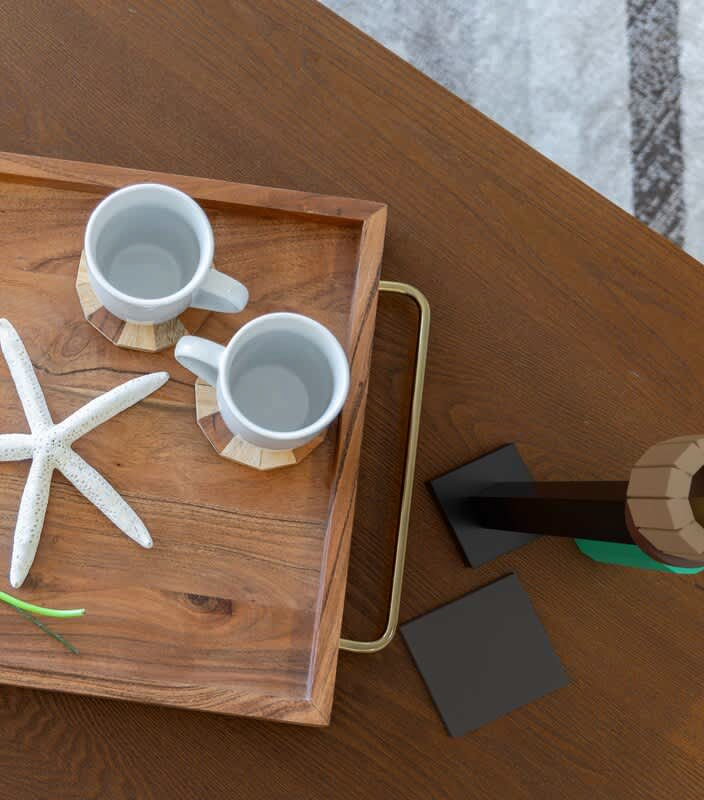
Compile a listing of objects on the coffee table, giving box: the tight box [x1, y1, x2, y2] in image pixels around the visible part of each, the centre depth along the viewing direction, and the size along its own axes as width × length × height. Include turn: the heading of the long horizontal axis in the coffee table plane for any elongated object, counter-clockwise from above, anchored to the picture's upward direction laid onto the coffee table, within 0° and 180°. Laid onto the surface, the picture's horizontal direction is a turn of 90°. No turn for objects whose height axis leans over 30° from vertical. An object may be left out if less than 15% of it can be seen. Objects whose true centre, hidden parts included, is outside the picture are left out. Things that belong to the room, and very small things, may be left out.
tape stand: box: [423, 442, 704, 570], centre depth 60 cm, size 8×8×31 cm
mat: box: [397, 571, 571, 740], centre depth 74 cm, size 10×11×1 cm
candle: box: [573, 538, 704, 575], centre depth 69 cm, size 6×6×12 cm
